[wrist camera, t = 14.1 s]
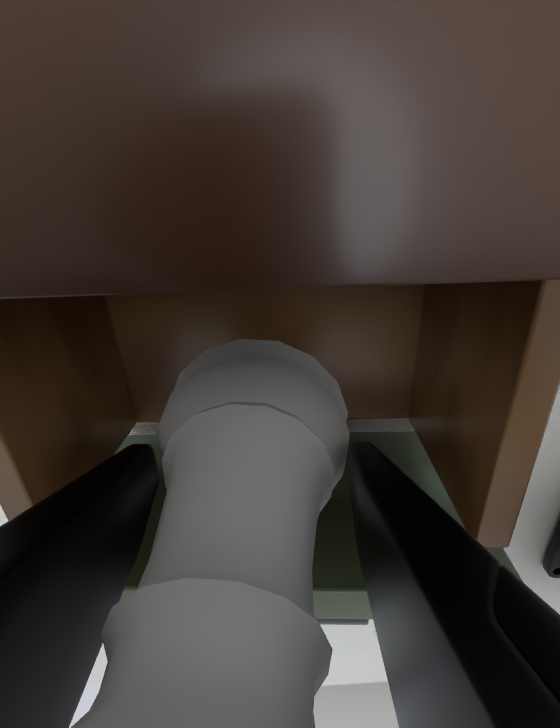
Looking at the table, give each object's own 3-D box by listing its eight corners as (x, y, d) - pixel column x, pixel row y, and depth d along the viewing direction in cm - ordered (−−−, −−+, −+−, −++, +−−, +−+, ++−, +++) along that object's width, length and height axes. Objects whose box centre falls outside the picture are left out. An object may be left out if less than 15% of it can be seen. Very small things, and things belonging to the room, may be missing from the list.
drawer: (417, 531, 17) (484, 714, 11) (146, 531, 18) (70, 702, 12) (502, 7, 9) (895, -353, 3) (11, 43, 10) (-429, -195, 4)
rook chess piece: (351, 470, 10) (491, 1163, 3) (198, 484, 11) (-18, 1110, 3) (337, 318, 8) (619, 1169, 1) (153, 343, 9) (-548, 1049, 2)
